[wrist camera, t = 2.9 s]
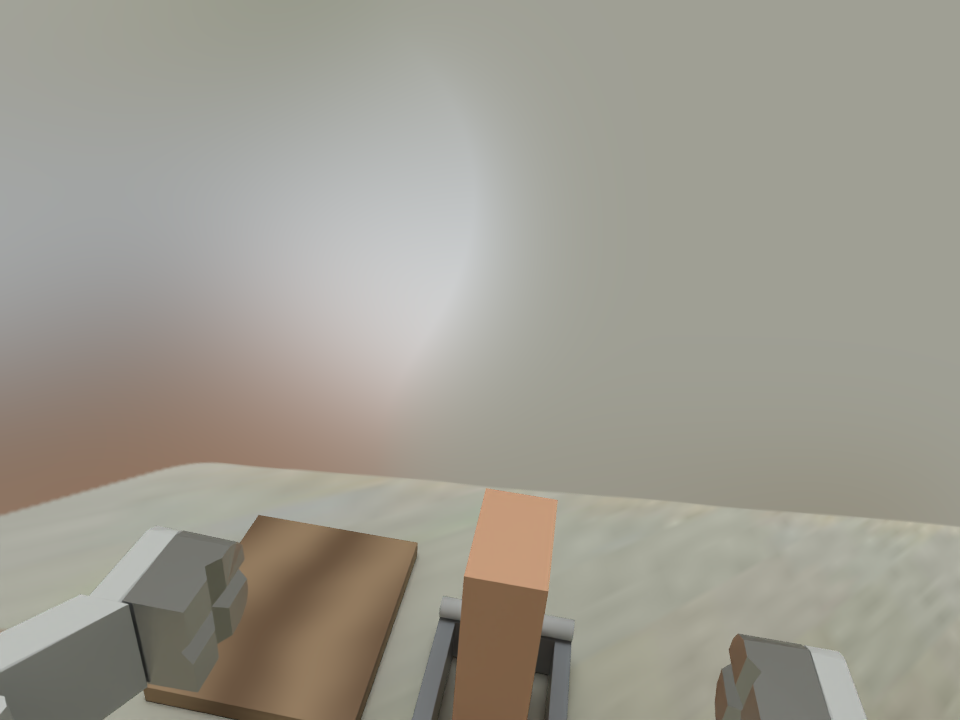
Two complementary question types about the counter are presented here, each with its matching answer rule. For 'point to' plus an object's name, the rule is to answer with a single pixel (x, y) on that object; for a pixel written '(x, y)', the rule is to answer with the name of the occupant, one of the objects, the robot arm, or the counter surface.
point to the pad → (304, 625)
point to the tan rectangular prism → (503, 606)
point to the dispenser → (549, 661)
